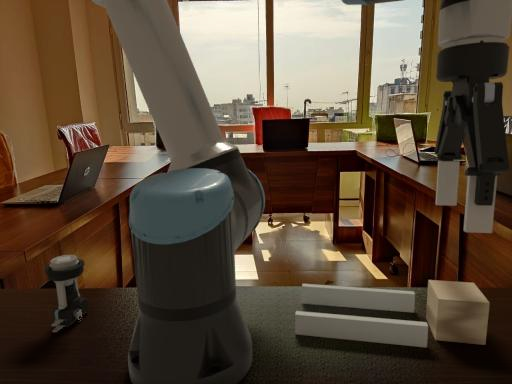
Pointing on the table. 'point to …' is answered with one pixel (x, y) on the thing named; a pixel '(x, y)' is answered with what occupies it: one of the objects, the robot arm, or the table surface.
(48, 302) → the table surface
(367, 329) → the channel
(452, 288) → the maple block
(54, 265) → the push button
